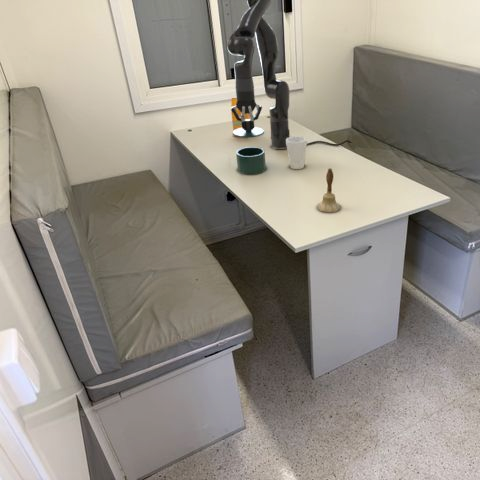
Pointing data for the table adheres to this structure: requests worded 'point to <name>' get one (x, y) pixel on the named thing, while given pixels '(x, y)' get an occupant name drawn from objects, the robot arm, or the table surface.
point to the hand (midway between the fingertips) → (248, 129)
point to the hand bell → (329, 196)
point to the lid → (248, 131)
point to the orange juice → (235, 122)
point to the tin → (251, 160)
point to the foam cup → (296, 151)
